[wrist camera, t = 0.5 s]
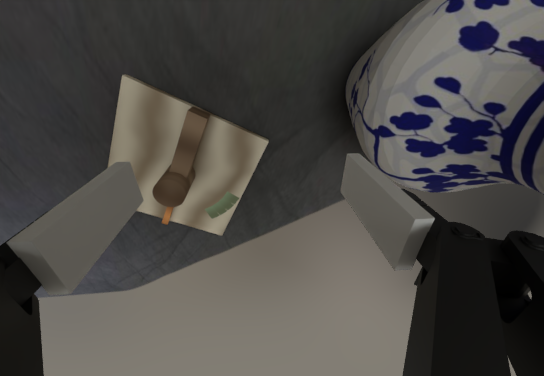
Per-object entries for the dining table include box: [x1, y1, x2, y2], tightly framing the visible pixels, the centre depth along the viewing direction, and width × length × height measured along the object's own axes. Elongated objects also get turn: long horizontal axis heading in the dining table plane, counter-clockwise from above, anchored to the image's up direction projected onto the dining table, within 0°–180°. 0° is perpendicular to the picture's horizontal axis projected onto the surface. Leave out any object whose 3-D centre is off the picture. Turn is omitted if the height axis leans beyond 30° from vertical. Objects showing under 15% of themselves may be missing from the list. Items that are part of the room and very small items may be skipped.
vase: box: [345, 0, 544, 194], centre depth 21 cm, size 19×19×30 cm
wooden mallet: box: [152, 106, 211, 224], centre depth 34 cm, size 22×4×7 cm, turn 154°
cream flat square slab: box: [108, 74, 269, 236], centre depth 38 cm, size 22×22×1 cm
